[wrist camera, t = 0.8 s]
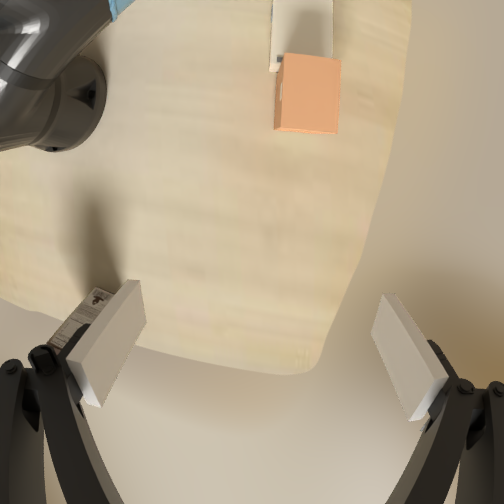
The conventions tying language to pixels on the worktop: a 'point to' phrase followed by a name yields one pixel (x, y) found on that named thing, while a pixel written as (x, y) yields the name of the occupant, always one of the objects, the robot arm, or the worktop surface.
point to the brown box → (307, 94)
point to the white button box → (300, 29)
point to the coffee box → (80, 317)
